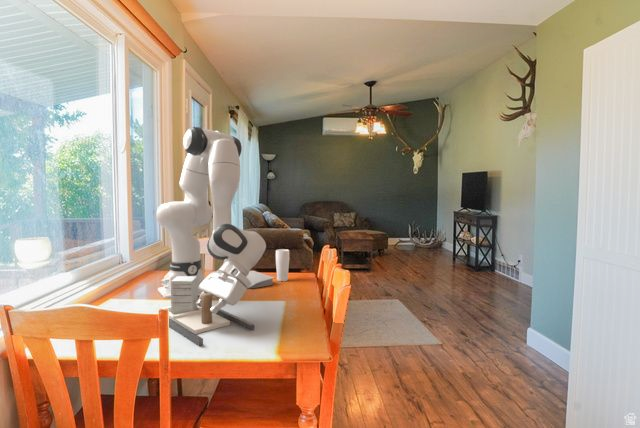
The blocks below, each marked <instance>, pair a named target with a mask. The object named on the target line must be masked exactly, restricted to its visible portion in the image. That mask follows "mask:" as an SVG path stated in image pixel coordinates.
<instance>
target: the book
mask: <svg viewBox="0 0 640 428" xmlns="http://www.w3.org/2000/svg"><path fill="white" fill-rule="evenodd" d="M247 278H248V279H249V280H250V282H251V283H252V284H251V286H250V287H249V288H248V289H256V288H260V287H267V286H272V285H273V282H274V281H273V280H274V279H276V277H274V276H271V275H267V274H264V273H262V272H259V271H255V270H250V272H249V274H248V275H247Z"/></svg>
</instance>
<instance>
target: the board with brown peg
mask: <svg viewBox="0 0 640 428" xmlns="http://www.w3.org/2000/svg"><path fill="white" fill-rule="evenodd" d="M212 306H213V297H212V294H211V293H204V294H202V295H201V307H199V306H198V308H197V310H194V311H190V312H185V313H181V314H176V315H174V314H172V313H171V305H168V306H164V307H160V310H161V309H165V308H168V309H169V318H170V319H171V320H173V321H175V322H176V323H178V324H180V325H181V326H183V327H185V328H186V329H188V330H189V331H191V332H193V333H194V334H196V335H198V334H201V333H204V332H208V331H212V330H215V329H218V328H223V327H226V326H230V325H231V321H229V320H227V319H225V318H223V317H221V316H219V315H217V314H214V313H212V312H211V311H210V309H211V308H212Z"/></svg>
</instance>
